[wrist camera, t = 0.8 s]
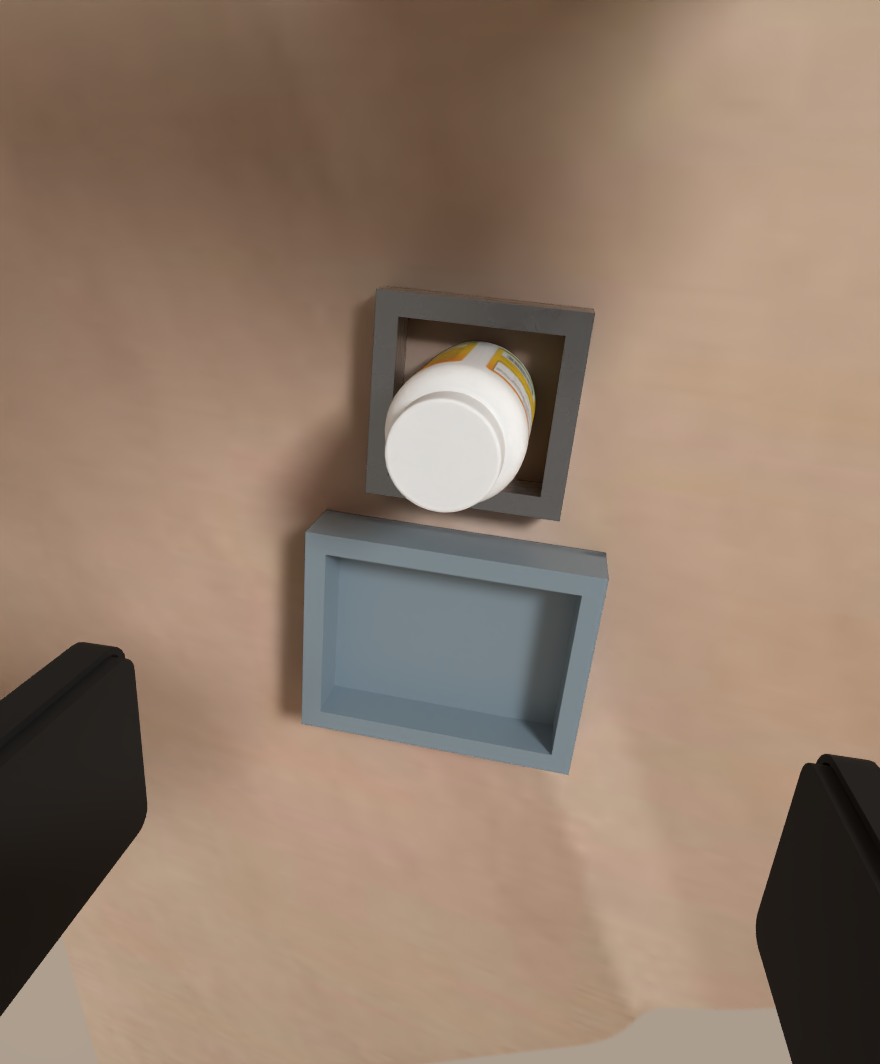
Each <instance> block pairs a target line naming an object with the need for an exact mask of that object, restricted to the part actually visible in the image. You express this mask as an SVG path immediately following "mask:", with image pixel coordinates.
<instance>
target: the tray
mask: <svg viewBox="0 0 880 1064" xmlns="http://www.w3.org/2000/svg"><path fill="white" fill-rule="evenodd" d="M608 581H609V577H608V568H607V559H606V553H604V552H598V551H591V550H585V549H578V548H572V547H565V546H558V545H552V544H545V543H539V542H532V541H526V540H519V539H513V538H506V537H499V536H493V535H486V534H480V533H473V532H467V531H460V530H454V529H447V528H440V527H434V526H427V525H421V524H414V523H408V522H401V521H395V520H388V519H381V518H375V517H368V516H362V515H355V514H349V513H342V512H335V511H329V510H326V511H325V512H324V513H323V514H322V515H321V516H320V517H319V518H318V519H317V520H316V521H315V522H314V523H313V524H312V525H311V527H310V528H309V529H308V530H307V531H306V532H305V581H304V631H303V680H302V724H306V725H311V726H316V727H322V728H327V729H332V730H337V731H343V732H348V733H353V734H358V735H363V736H369V737H374V738H379V739H384V740H389V741H395V742H400V743H405V744H410V745H415V746H421V747H426V748H431V749H436V750H441V751H447V752H452V753H457V754H462V755H467V756H473V757H478V758H483V759H488V760H493V761H499V762H504V763H509V764H514V765H519V766H525V767H530V768H535V769H540V770H546V771H551V772H556V773H561V774H566V775H569V770H570V765H571V760H572V755H573V750H574V746H575V741H576V736H577V731H578V726H579V721H580V716H581V712H582V707H583V702H584V697H585V692H586V687H587V682H588V678H589V673H590V668H591V663H592V658H593V653H594V649H595V644H596V639H597V634H598V629H599V624H600V619H601V615H602V610H603V605H604V600H605V595H606V590H607V585H608Z"/></svg>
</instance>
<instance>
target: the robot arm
mask: <svg viewBox="0 0 880 1064" xmlns="http://www.w3.org/2000/svg"><path fill="white" fill-rule="evenodd" d="M146 813H147V797H146V786H145V776H144V765H143V754H142V744H141V733H140V723H139V712H138V701H137V691H136V680H135V670H134V665H133V663H132V661H131V660H129V659H125V655H124V653H123V651H122V650H121V649H119V648H118V647H112V646H106V645H99V644H92V643H86V642H78V643H76V644H75V645H73V646H71V647H70V648H69V649H67V650H66V651H65V652H63V653H62V654H61V655H59V656H58V657H57V658H56V659H54V660H53V661H52V662H50V663H49V664H48V665H46V666H45V667H44V668H42V669H41V670H40V671H39V672H37V673H36V674H35V675H33V676H32V677H31V678H29V679H28V680H27V681H25V682H24V683H23V684H21V685H20V686H19V687H18V688H16V689H15V690H14V691H12V692H11V693H10V694H8V695H7V696H6V697H4V698H3V699H2V700H1V701H0V1016H1V1015H2V1014H3V1012H4V1011H5V1010H6V1008H7V1007H8V1006H9V1004H10V1003H11V1002H12V1000H13V999H14V998H15V996H16V995H17V994H18V992H19V991H20V990H21V988H22V987H23V986H24V984H25V983H26V982H27V980H28V979H29V978H30V977H31V975H32V974H33V972H34V971H35V970H36V969H37V967H38V966H39V965H40V963H41V962H42V961H43V959H44V958H45V957H46V955H47V954H48V953H49V951H50V950H51V949H52V947H53V946H54V944H55V943H56V942H57V941H58V939H59V938H60V937H61V935H62V934H63V933H64V931H65V930H66V929H67V927H68V926H69V925H70V923H71V922H72V921H73V919H74V918H75V917H76V915H77V914H78V913H79V911H80V910H81V909H82V907H83V906H84V905H85V903H86V902H87V901H88V899H89V898H90V897H91V896H92V894H93V893H94V892H95V890H96V889H97V888H98V886H99V885H100V884H101V882H102V881H103V880H104V878H105V877H106V876H107V874H108V873H109V872H110V870H111V869H112V868H113V866H114V865H115V864H116V862H117V861H118V860H119V858H120V857H121V856H122V854H123V853H124V852H125V850H126V849H127V848H128V846H129V845H130V844H131V842H132V841H133V840H134V838H135V837H136V836H137V834H138V833H139V831H140V830H141V828H142V826H143V824H144V821H145V818H146ZM756 938H757V944H758V949H759V952H760V955H761V959H762V962H763V966H764V969H765V972H766V976H767V979H768V983H769V986H770V989H771V993H772V996H773V999H774V1003H775V1006H776V1010H777V1013H778V1016H779V1020H780V1023H781V1027H782V1030H783V1033H784V1037H785V1040H786V1044H787V1047H788V1050H789V1054H790V1057H791V1061H792V1064H880V768H879V767H878V766H877V765H876V763H875V762H872V761H870V760H864V759H857V758H851V757H844V756H837V755H831V754H824V755H821V757H820V758H819V759H818V760H817V763H816V764H814V763H806V764H805V765H804V766H803V768H802V770H801V773H800V776H799V779H798V783H797V786H796V789H795V793H794V796H793V799H792V802H791V806H790V809H789V812H788V815H787V819H786V822H785V825H784V829H783V832H782V835H781V838H780V842H779V845H778V848H777V852H776V855H775V858H774V861H773V865H772V868H771V871H770V874H769V878H768V881H767V884H766V888H765V891H764V894H763V897H762V901H761V904H760V907H759V911H758V914H757V919H756Z"/></svg>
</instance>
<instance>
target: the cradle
mask: <svg viewBox="0 0 880 1064" xmlns="http://www.w3.org/2000/svg"><path fill="white" fill-rule="evenodd" d="M594 316H595V312H594V309H588V308H579V307H570V306H561V305H552V304H543V303H534V302H525V301H516V300H507V299H498V298H488V297H479V296H470V295H461V294H452V293H443V292H434V291H425V290H416V289H407V288H398V287H389V286H387V287H383V288H378V289H376V305H375V323H374V342H373V360H372V378H371V397H370V415H369V434H368V452H367V470H366V489H365V493H372V494H379V495H385V496H392V497H399V498H406V497H405V496H404V495H403V494H401V493H400V491H399V490H398V489H397V488H396V486H395V485H394V483H393V482H392V480H391V478H390V475H389V473H388V470H387V467H386V462H385V444H386V441H385V423H386V417H387V413H388V410H389V407H390V405H391V403H392V401H393V398H394V397H395V395H396V394H397V392H398V391H399V390H400V388H401V387H402V386H403V380H404V366H405V352H406V338H407V324H408V318H415V319H424V320H432V321H441V322H450V323H458V324H467V325H476V326H484V327H493V328H502V329H510V330H519V331H527V332H536V333H545V334H553V335H562V336H565V342H564V348H563V355H562V361H561V368H560V374H559V380H558V387H557V393H556V400H555V406H554V412H553V419H552V425H551V431H550V438H549V444H548V451H547V457H546V463H545V470H544V476H543V483H535V482H528V481H521V480H514V479H513V480H512V481H511V482H510V483H509V484H508V485H507V486H506V487H505V488H504V489H503V490H502V491H500V492H499V493H498V494H496V495H495V496H493V497H491V498H489V499H487V500H485V501H482V502H479V503H477V504H475V505H474V506H471V507H469V508H473V509H480V510H487V511H493V512H500V513H507V514H513V515H520V516H527V517H534V518H540V519H547V520H554V521H560V516H561V510H562V504H563V498H564V492H565V486H566V481H567V475H568V469H569V463H570V457H571V451H572V445H573V439H574V434H575V428H576V422H577V416H578V410H579V404H580V398H581V392H582V386H583V381H584V375H585V369H586V363H587V357H588V351H589V345H590V339H591V334H592V328H593V322H594ZM406 499H407V498H406Z"/></svg>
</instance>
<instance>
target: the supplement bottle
mask: <svg viewBox="0 0 880 1064" xmlns="http://www.w3.org/2000/svg"><path fill="white" fill-rule="evenodd" d="M535 400H536V399H535V391H534V386H533V383H532V380H531V377H530V375H529V373H528V371H527V369H526V368H525V366H524V365H523V364H522V362H521V361H520V360H519V359H518V358H517V357H516V356H515V355H513V354H512V353H511V352H509V351H508V350H506V349H505V348H503V347H500V346H498V345H495V344H492V343H488V342H482V341H472V342H465V343H461V344H457V345H455V346H452V347H450V348H448V349H446V350H445V351H443V352H442V353H440V354H439V355H437V356H436V357H435V358H434V359H433V360H432V361H430V362H429V363H428V364H427V365H426V366H424V367H423V368H422V369H421V370H419V371H418V372H417V373H416V374H414V375H413V376H412V377H411V378H410V379H409V380H408V381H406V383H405V384H404V385H403V386H402V387H401V388H400V390H399V391H398V392H397V394H396V395H395V397H394V398H393V401H392V403H391V405H390V407H389V410H388V413H387V417H386V423H385V441H386V444H385V462H386V467H387V470H388V473H389V475H390V478H391V480H392V482H393V483H394V485H395V486H396V488H397V489H398V490H399V491H400V493H401V494H403V495H404V496H405V497H406V498H407V499H408V500H409V501H411V502H412V503H414V504H416V505H417V506H419V507H422V508H424V509H427V510H430V511H435V512H443V513H447V512H457V511H461V510H464V509H467V508H469V507H471V506H474V505H475V504H477V503H479V502H482V501H485V500H487V499H489V498H491V497H493V496H495V495H496V494H498V493H499V492H500V491H502V490H503V489H504V488H505V487H506V486H507V485H508V484H509V483H510V482H511V481H512V480H513V478H514V477H515V475H516V474H517V472H518V471H519V469H520V467H521V465H522V462H523V460H524V457H525V454H526V451H527V446H528V441H529V436H530V432H531V427H532V422H533V418H534V413H535Z"/></svg>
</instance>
